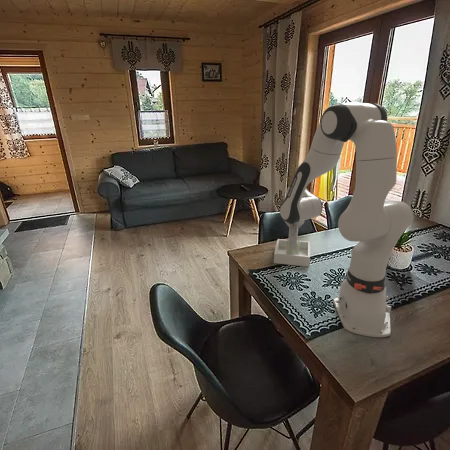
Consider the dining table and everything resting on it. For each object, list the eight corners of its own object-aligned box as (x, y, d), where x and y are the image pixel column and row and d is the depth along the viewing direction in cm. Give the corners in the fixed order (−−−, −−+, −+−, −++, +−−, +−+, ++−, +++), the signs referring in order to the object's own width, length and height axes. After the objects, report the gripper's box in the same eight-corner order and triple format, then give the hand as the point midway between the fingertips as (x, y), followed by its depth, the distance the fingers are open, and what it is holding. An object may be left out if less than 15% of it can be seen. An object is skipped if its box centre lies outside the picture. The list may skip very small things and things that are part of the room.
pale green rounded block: (298, 258, 136) (299, 245, 133) (285, 257, 137) (286, 244, 134) (299, 252, 141) (300, 239, 138) (286, 251, 142) (287, 238, 140)
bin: (309, 266, 130) (310, 257, 128) (273, 263, 134) (274, 253, 132) (309, 250, 144) (310, 241, 143) (277, 247, 149) (277, 238, 147)
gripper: (301, 227, 122) (299, 256, 127) (302, 211, 140) (300, 237, 145) (285, 226, 123) (284, 255, 129) (289, 210, 141) (287, 236, 147)
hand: (293, 245), depth 137 cm, fingers open, 8 cm apart
